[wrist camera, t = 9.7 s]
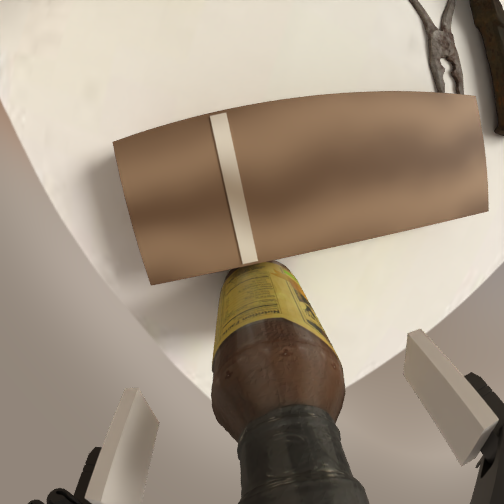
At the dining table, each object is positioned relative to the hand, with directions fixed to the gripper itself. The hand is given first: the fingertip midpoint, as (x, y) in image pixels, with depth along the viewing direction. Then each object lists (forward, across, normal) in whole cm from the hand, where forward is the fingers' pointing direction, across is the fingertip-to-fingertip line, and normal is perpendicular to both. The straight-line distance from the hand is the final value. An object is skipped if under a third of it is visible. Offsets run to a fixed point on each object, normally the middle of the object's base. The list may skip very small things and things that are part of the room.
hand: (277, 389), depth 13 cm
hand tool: (+13, +30, +19) cm, 38 cm away
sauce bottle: (+12, 0, 0) cm, 12 cm away
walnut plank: (+12, +7, +8) cm, 16 cm away
